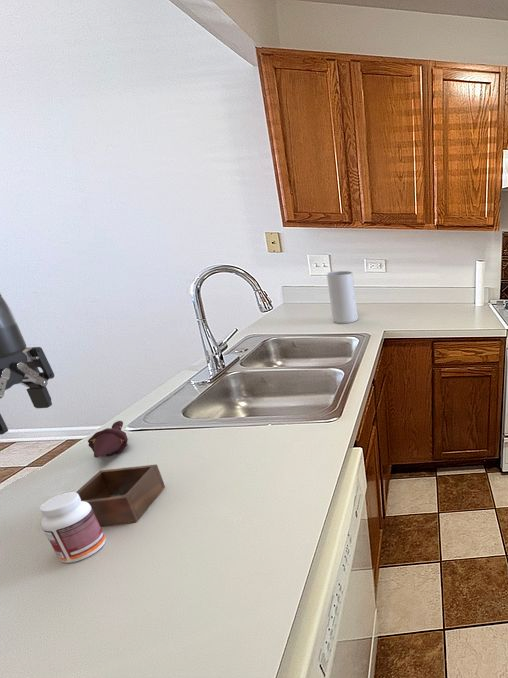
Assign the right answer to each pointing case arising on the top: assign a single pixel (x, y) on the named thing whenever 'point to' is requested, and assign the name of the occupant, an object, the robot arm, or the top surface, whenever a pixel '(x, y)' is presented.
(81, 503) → the pill bottle
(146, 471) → the box
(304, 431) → the top surface
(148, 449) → the top surface
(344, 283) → the cylinder vase
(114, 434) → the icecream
